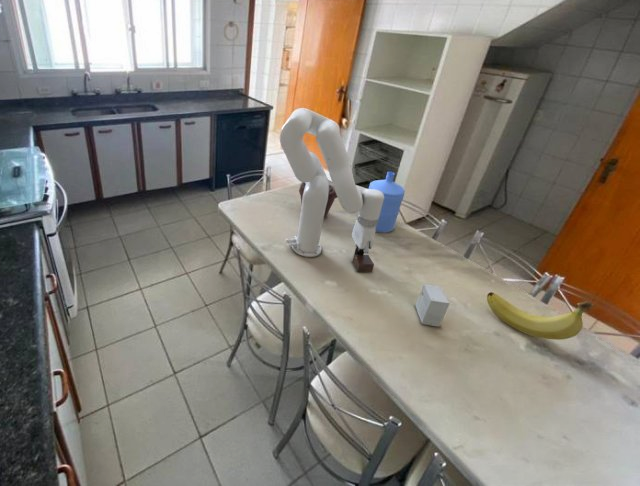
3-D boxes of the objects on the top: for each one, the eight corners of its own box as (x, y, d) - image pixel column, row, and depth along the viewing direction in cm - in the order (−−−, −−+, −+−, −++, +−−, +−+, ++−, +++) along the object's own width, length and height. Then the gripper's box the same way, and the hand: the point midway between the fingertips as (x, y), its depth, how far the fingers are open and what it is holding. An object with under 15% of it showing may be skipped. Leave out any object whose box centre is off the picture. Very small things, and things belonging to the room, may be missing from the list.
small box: (439, 327, 107) (450, 304, 102) (421, 324, 108) (431, 300, 103) (431, 309, 114) (441, 286, 109) (414, 306, 115) (423, 283, 110)
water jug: (392, 220, 167) (407, 169, 154) (394, 236, 154) (411, 183, 141) (360, 213, 171) (372, 164, 159) (360, 229, 158) (373, 176, 145)
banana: (478, 309, 115) (501, 265, 106) (484, 303, 118) (507, 258, 109) (560, 358, 99) (596, 310, 90) (565, 349, 102) (600, 302, 93)
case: (338, 224, 161) (345, 192, 153) (297, 222, 161) (302, 189, 153) (330, 206, 177) (336, 176, 169) (293, 204, 177) (297, 174, 169)
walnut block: (357, 272, 130) (359, 264, 128) (351, 262, 135) (353, 254, 133) (371, 272, 130) (374, 264, 128) (366, 262, 135) (368, 254, 134)
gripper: (351, 209, 135) (343, 246, 143) (366, 230, 122) (356, 269, 130) (369, 210, 136) (360, 246, 144) (385, 230, 122) (374, 268, 130)
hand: (358, 256), depth 137 cm, fingers closed
